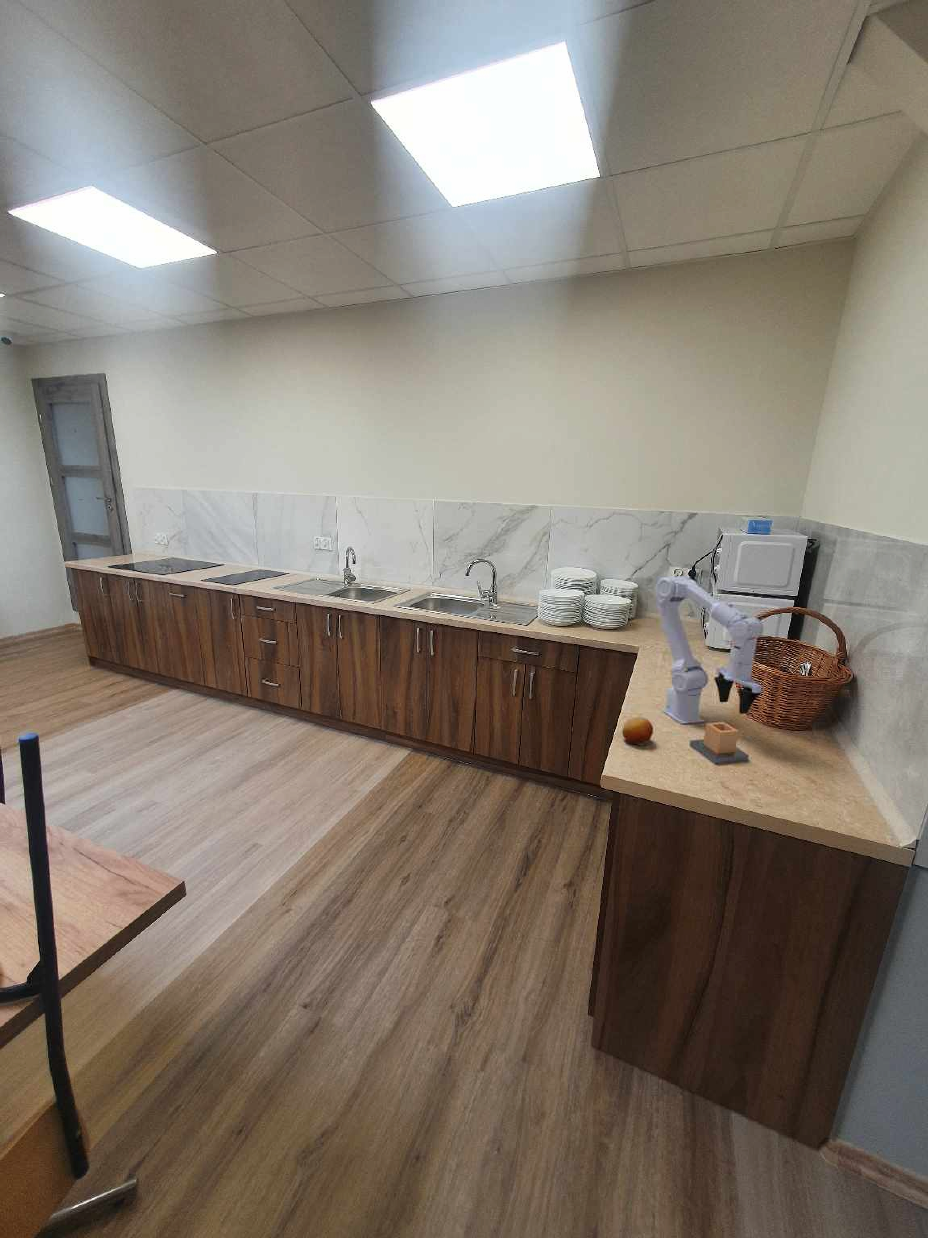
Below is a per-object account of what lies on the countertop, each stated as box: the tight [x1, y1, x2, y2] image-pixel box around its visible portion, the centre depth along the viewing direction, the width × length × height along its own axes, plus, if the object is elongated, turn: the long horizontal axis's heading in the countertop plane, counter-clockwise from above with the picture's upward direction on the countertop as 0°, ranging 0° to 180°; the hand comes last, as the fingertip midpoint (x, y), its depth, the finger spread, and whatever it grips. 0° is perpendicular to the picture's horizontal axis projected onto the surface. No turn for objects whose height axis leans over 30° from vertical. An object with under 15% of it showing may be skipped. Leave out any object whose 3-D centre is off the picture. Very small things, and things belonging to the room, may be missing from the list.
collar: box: [703, 721, 739, 754], centre depth 134 cm, size 5×5×6 cm
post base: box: [689, 730, 750, 765], centre depth 135 cm, size 10×10×6 cm
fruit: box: [621, 716, 654, 747], centre depth 140 cm, size 8×8×8 cm
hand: (733, 707), depth 142 cm, fingers open, 7 cm apart
